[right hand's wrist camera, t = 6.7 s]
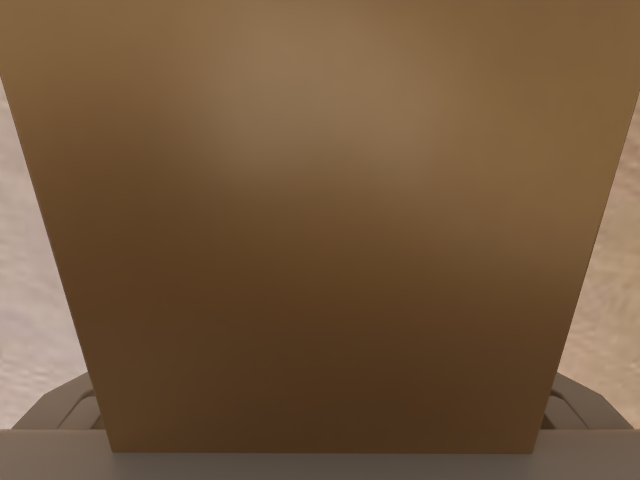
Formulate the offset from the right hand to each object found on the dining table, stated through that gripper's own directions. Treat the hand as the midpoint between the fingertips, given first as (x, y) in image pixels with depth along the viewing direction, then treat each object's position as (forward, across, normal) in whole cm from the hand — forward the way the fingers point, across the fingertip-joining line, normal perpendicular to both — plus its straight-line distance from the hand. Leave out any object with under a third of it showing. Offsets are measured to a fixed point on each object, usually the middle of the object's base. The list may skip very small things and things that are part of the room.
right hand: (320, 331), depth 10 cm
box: (+7, 0, -10) cm, 12 cm away
